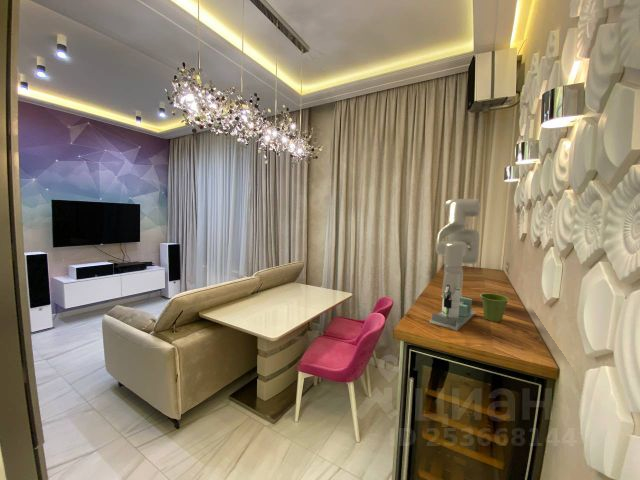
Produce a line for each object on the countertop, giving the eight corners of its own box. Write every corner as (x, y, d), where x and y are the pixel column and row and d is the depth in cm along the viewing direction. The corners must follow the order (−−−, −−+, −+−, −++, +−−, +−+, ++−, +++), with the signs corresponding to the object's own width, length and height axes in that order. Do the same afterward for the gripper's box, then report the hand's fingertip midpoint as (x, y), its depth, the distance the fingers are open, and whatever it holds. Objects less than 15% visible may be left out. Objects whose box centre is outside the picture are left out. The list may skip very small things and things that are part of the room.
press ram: (451, 305, 143) (452, 294, 142) (472, 310, 136) (473, 299, 135) (443, 311, 134) (444, 299, 134) (465, 316, 127) (466, 304, 127)
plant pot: (473, 314, 135) (474, 293, 134) (494, 314, 136) (496, 293, 135) (490, 324, 123) (491, 301, 122) (513, 323, 124) (515, 300, 123)
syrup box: (441, 312, 129) (442, 284, 128) (453, 313, 129) (455, 284, 128) (446, 317, 124) (448, 287, 122) (459, 317, 124) (461, 287, 122)
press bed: (450, 308, 144) (450, 300, 144) (474, 314, 136) (475, 305, 135) (429, 322, 124) (430, 313, 124) (456, 330, 116) (457, 320, 116)
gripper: (450, 265, 133) (448, 299, 135) (437, 270, 121) (435, 307, 122) (467, 267, 128) (464, 302, 130) (455, 273, 115) (452, 312, 117)
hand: (450, 305), depth 126 cm, fingers closed on syrup box, 8 cm apart
